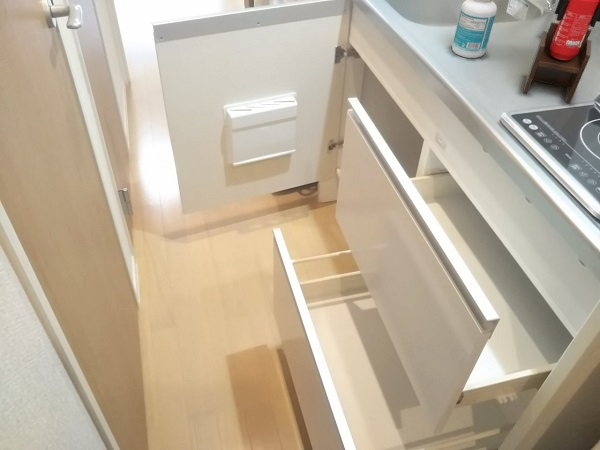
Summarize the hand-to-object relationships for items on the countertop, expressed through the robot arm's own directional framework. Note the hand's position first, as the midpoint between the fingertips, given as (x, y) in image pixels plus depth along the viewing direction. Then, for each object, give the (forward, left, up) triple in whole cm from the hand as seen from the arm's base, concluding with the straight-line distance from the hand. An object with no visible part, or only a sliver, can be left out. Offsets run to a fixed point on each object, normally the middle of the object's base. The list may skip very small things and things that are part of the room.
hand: (575, 20), depth 97 cm
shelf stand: (0, 0, -14) cm, 14 cm away
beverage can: (0, 0, -7) cm, 7 cm away
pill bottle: (+18, -10, -15) cm, 26 cm away
